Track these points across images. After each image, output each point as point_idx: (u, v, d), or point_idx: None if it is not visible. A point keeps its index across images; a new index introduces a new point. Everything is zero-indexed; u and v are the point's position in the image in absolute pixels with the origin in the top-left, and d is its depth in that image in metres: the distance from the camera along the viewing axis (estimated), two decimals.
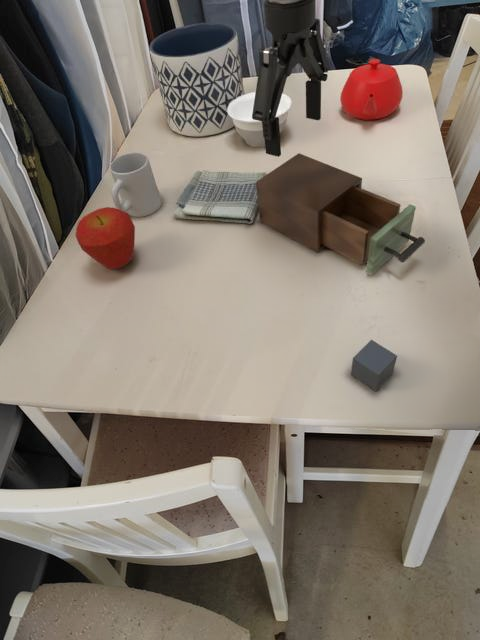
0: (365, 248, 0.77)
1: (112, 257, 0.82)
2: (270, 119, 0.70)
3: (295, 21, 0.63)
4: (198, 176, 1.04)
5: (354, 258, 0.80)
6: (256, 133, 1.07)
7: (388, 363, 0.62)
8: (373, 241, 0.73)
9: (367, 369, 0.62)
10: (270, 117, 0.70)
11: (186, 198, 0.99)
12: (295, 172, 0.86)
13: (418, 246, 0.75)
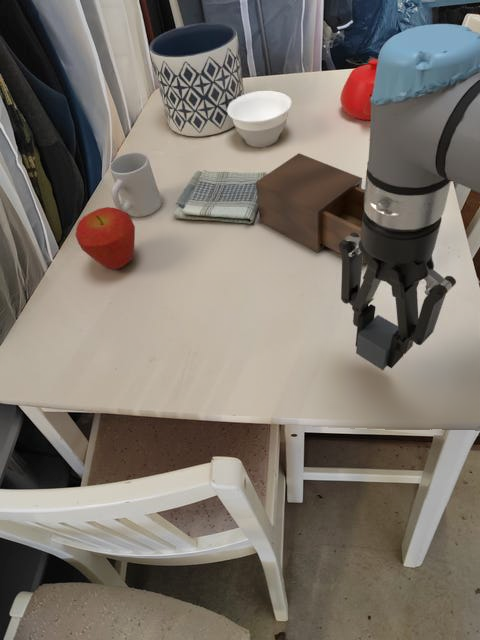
0: None
1: (112, 257, 0.82)
2: None
3: None
4: (198, 176, 1.04)
5: None
6: (256, 133, 1.07)
7: None
8: None
9: (373, 345, 0.58)
10: None
11: (186, 198, 0.99)
12: (295, 172, 0.86)
13: None
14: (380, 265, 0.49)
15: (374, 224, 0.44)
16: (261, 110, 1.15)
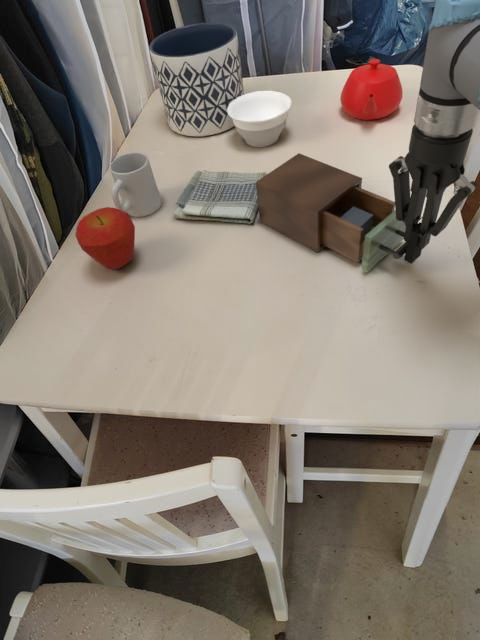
0: (360, 246, 0.77)
1: (112, 257, 0.82)
2: None
3: None
4: (198, 176, 1.04)
5: (349, 256, 0.80)
6: (256, 133, 1.07)
7: (366, 219, 0.79)
8: (368, 238, 0.73)
9: None
10: None
11: (186, 198, 0.99)
12: (295, 172, 0.86)
13: None
14: (422, 173, 0.63)
15: (422, 134, 0.58)
16: (261, 110, 1.15)
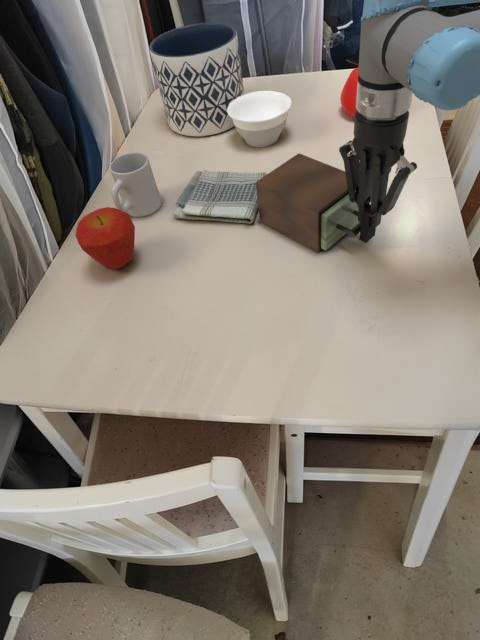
0: None
1: (112, 257, 0.82)
2: None
3: None
4: (198, 176, 1.04)
5: None
6: (256, 133, 1.07)
7: None
8: (324, 217, 0.78)
9: None
10: None
11: (186, 198, 0.99)
12: (295, 172, 0.86)
13: None
14: (367, 155, 0.68)
15: (363, 118, 0.63)
16: (261, 110, 1.15)
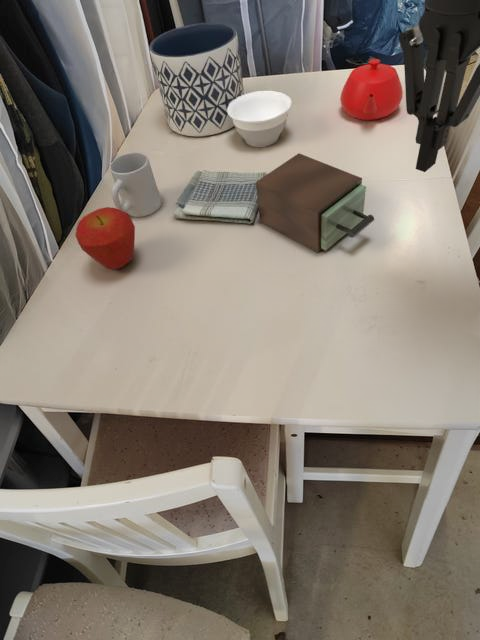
0: None
1: (112, 257, 0.82)
2: None
3: None
4: (198, 176, 1.04)
5: None
6: (256, 133, 1.07)
7: None
8: (324, 217, 0.78)
9: None
10: None
11: (186, 198, 0.99)
12: (295, 172, 0.86)
13: (367, 223, 0.81)
14: (441, 36, 0.51)
15: None
16: (261, 110, 1.15)
